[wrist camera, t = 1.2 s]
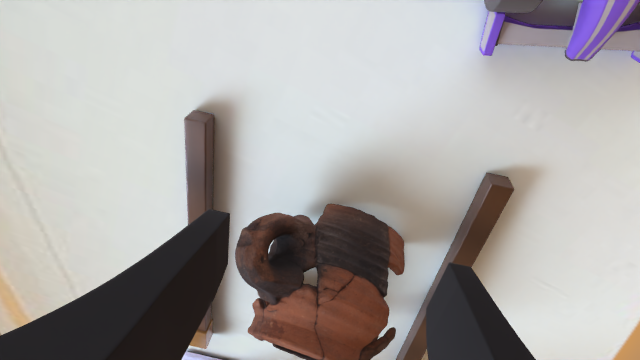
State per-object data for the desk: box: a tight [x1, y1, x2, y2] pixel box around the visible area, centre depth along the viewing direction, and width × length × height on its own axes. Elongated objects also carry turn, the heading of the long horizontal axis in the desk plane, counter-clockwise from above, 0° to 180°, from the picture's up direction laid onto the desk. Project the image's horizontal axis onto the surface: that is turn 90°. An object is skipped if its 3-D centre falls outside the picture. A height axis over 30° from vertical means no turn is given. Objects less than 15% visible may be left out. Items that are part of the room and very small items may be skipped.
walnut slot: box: [184, 110, 514, 360], centre depth 25 cm, size 20×18×1 cm
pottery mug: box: [235, 204, 405, 360], centre depth 23 cm, size 12×10×8 cm
